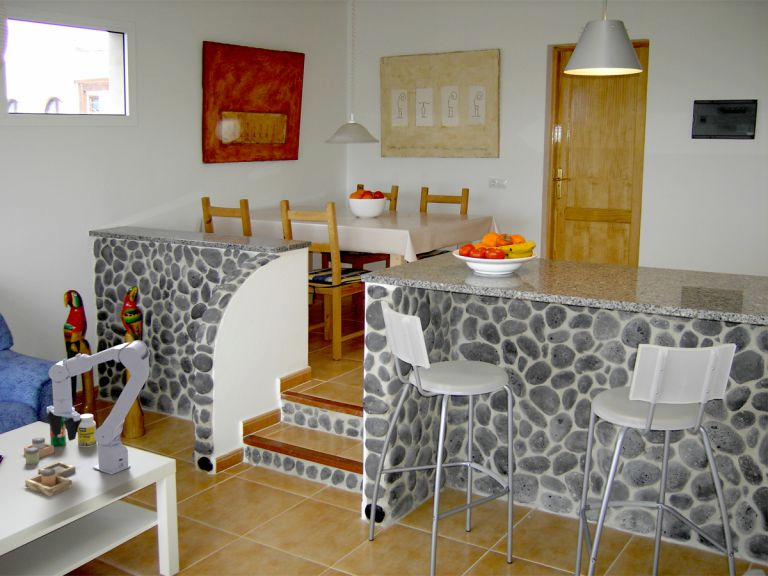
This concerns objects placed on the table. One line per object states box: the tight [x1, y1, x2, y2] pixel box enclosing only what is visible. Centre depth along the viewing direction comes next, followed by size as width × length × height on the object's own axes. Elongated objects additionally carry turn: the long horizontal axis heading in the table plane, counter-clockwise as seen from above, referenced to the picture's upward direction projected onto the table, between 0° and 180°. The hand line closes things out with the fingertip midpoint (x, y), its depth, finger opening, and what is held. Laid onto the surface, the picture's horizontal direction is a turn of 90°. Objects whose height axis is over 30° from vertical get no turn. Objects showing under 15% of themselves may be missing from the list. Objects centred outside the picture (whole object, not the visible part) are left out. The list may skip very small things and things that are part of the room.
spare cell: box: [24, 448, 40, 466], centre depth 273 cm, size 4×4×5 cm
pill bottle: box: [77, 413, 97, 448], centre depth 290 cm, size 6×6×11 cm
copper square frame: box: [23, 442, 55, 459], centre depth 281 cm, size 7×7×3 cm
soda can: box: [49, 416, 67, 448], centre depth 289 cm, size 5×5×12 cm
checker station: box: [24, 460, 76, 497], centre depth 261 cm, size 17×16×2 cm
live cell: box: [40, 469, 57, 487], centre depth 257 cm, size 4×4×5 cm
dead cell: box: [31, 436, 46, 450], centre depth 281 cm, size 4×4×5 cm
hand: (64, 437), depth 271 cm, fingers open, 7 cm apart
